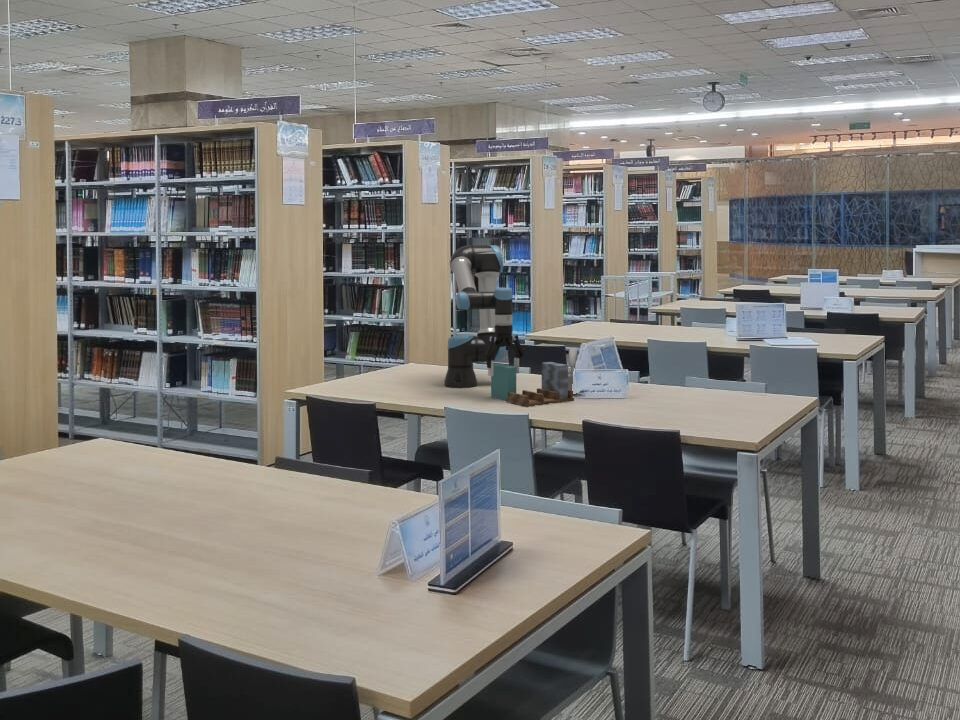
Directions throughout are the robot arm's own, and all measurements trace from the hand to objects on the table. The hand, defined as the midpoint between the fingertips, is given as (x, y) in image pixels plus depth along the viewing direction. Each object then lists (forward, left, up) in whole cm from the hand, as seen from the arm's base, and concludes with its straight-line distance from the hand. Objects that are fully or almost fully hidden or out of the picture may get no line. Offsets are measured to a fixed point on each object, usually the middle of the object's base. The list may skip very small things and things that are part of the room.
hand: (503, 374), depth 416 cm
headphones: (+8, +32, -11) cm, 35 cm away
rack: (+15, +8, -10) cm, 20 cm away
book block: (0, 0, -10) cm, 10 cm away
